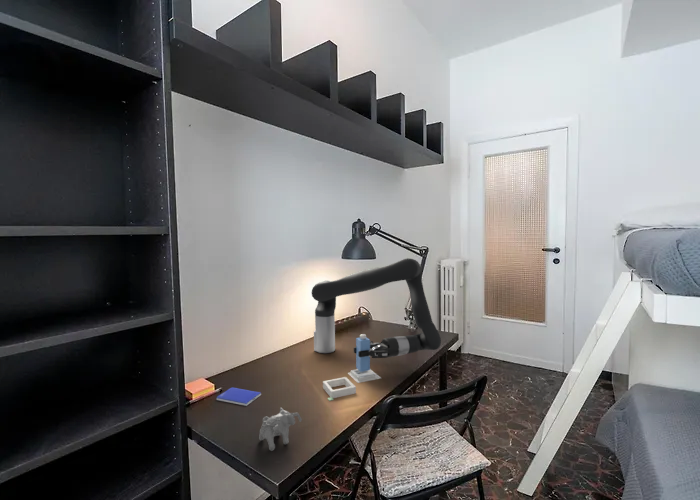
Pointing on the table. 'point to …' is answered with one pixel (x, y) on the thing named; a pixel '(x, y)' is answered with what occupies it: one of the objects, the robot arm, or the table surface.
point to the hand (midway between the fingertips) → (356, 352)
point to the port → (340, 392)
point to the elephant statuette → (277, 427)
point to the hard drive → (238, 396)
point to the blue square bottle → (362, 345)
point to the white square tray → (363, 375)
